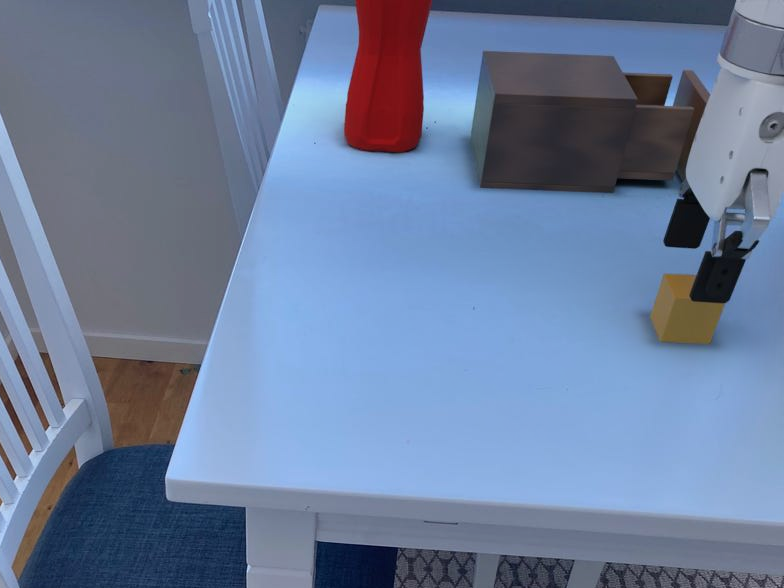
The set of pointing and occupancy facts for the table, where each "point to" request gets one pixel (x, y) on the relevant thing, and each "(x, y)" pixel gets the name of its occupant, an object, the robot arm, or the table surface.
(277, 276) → the table surface
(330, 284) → the table surface
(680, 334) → the block
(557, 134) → the cabinet
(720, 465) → the table surface
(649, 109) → the drawer
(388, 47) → the red bottle
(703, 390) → the table surface
